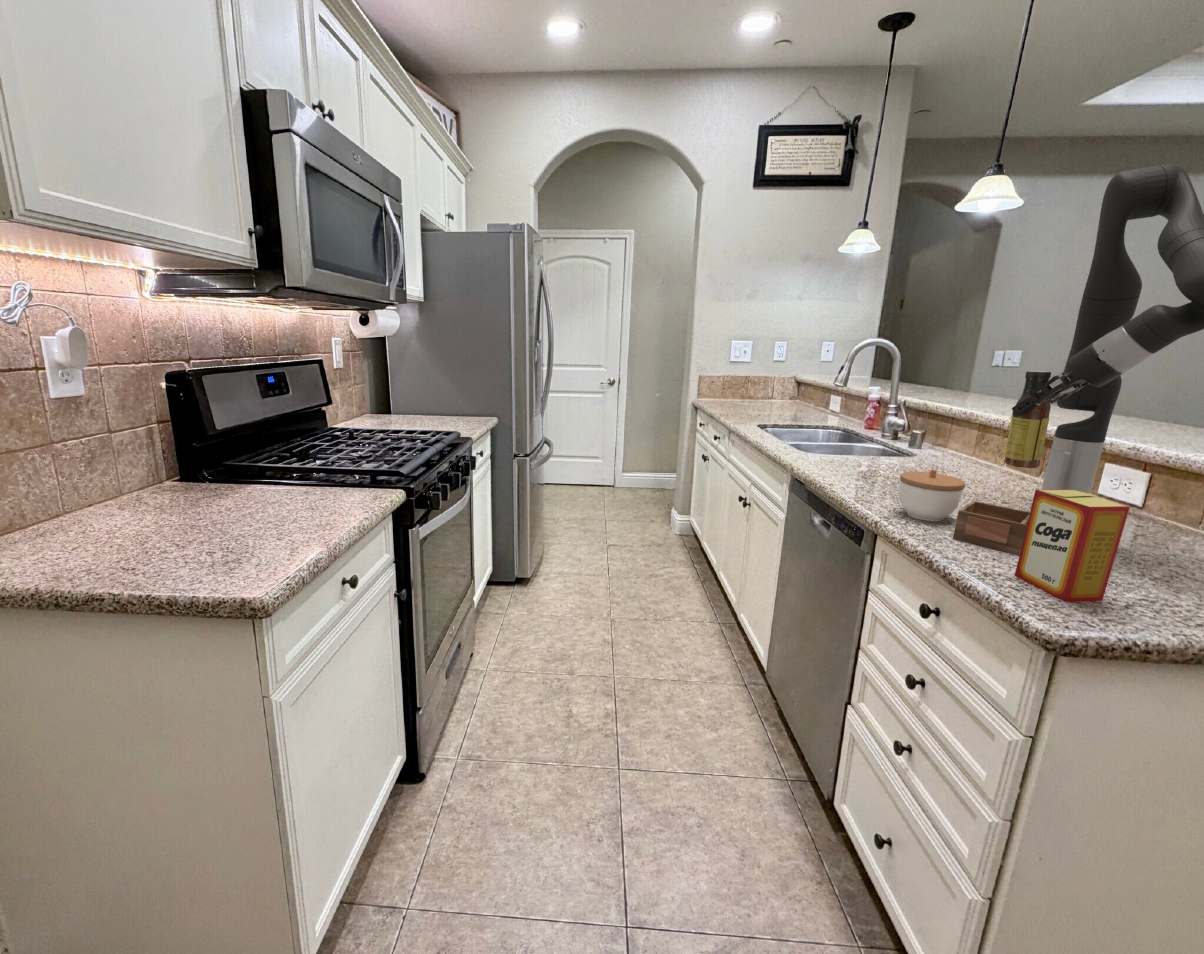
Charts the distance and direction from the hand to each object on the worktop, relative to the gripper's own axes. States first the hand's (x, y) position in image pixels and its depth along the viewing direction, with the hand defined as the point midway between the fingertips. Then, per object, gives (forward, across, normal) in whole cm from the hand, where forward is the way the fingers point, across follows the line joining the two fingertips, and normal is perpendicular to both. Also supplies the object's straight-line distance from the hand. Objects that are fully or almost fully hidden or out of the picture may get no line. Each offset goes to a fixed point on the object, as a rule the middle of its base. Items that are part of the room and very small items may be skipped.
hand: (1022, 411), depth 114 cm
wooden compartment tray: (+12, +11, +24) cm, 29 cm away
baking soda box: (+4, +28, +32) cm, 42 cm away
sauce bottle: (+7, 0, +9) cm, 12 cm away
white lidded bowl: (+26, +8, +10) cm, 29 cm away
